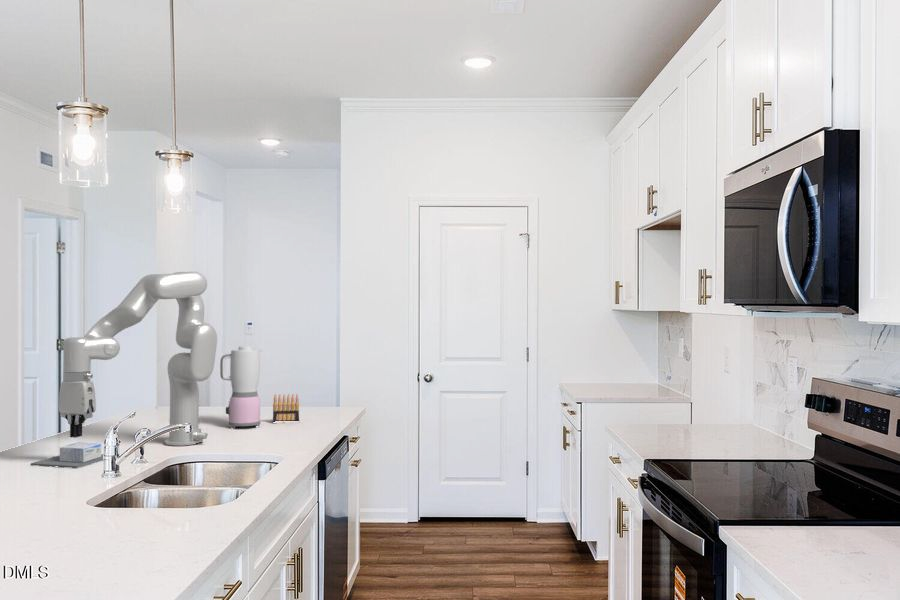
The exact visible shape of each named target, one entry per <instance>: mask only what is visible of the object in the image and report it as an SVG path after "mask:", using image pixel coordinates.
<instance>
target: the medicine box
mask: <svg viewBox="0 0 900 600" xmlns="http://www.w3.org/2000/svg"><path fill="white" fill-rule="evenodd" d="M101 454H102V443H98V442H97V443H96V442H81V441H80V442H75V443H71V444H66V445H63V446H60V447H59V455H60V461H65V462H82V463H83V462H87V461H90V460H93V459H97V458H100V457H101Z"/></svg>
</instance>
